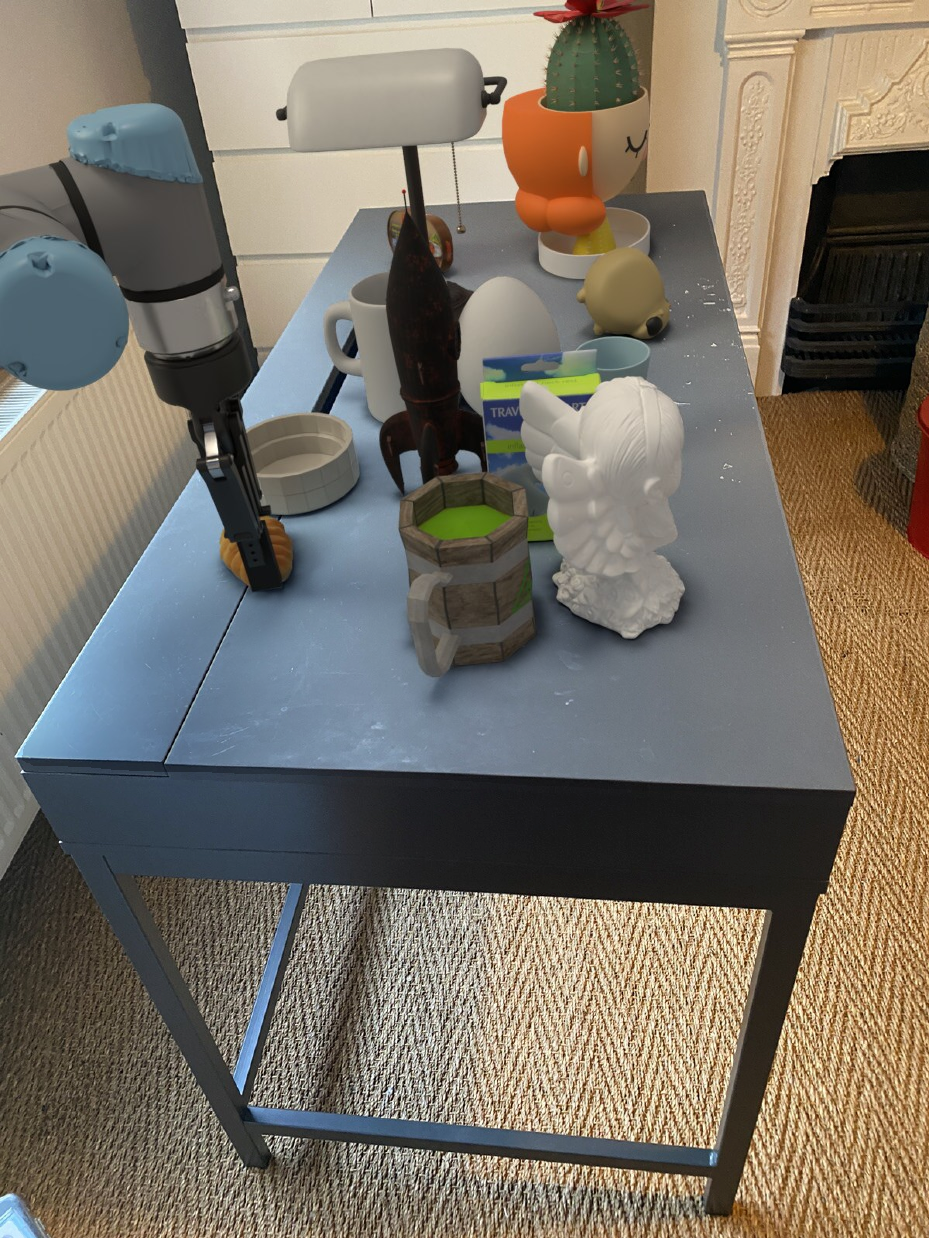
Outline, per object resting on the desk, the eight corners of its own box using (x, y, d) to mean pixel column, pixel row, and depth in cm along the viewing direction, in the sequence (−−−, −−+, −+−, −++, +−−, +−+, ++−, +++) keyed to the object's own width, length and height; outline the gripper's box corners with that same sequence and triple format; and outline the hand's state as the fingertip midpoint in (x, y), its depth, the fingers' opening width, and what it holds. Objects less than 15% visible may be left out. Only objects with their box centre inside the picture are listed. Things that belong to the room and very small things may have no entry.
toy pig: (617, 372, 121) (680, 325, 113) (555, 303, 118) (616, 249, 110) (636, 338, 127) (697, 290, 120) (578, 271, 124) (637, 218, 116)
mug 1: (472, 384, 114) (460, 268, 105) (443, 430, 106) (428, 308, 97) (355, 378, 119) (334, 266, 110) (320, 421, 111) (293, 304, 102)
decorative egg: (570, 382, 112) (567, 257, 103) (551, 433, 103) (545, 302, 94) (473, 379, 115) (461, 257, 106) (446, 428, 107) (430, 301, 97)
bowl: (236, 527, 95) (223, 486, 92) (242, 462, 106) (230, 423, 102) (363, 506, 96) (355, 464, 93) (357, 444, 106) (349, 404, 103)
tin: (389, 260, 151) (381, 206, 145) (405, 254, 152) (397, 200, 147) (443, 282, 141) (436, 225, 136) (459, 276, 142) (454, 219, 137)
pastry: (311, 578, 88) (302, 546, 85) (243, 604, 86) (232, 572, 83) (281, 530, 94) (272, 499, 92) (217, 553, 92) (206, 522, 90)
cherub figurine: (703, 642, 76) (723, 423, 63) (551, 662, 76) (540, 447, 63) (663, 548, 86) (672, 342, 73) (529, 566, 86) (514, 363, 73)
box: (493, 546, 89) (476, 378, 77) (493, 521, 92) (477, 357, 80) (605, 539, 88) (604, 368, 76) (601, 514, 91) (600, 347, 80)
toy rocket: (434, 530, 91) (388, 215, 72) (385, 495, 97) (331, 194, 78) (504, 495, 95) (478, 185, 76) (453, 463, 101) (417, 167, 81)
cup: (592, 468, 97) (591, 375, 90) (564, 435, 103) (562, 346, 96) (659, 451, 98) (663, 358, 92) (628, 419, 104) (629, 330, 98)
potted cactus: (654, 226, 150) (662, -36, 127) (642, 280, 134) (649, -10, 111) (523, 230, 155) (508, -22, 133) (496, 282, 139) (474, 5, 116)
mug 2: (443, 576, 86) (426, 464, 78) (555, 595, 82) (550, 479, 74) (369, 693, 75) (341, 577, 67) (494, 721, 71) (481, 601, 64)
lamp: (312, 369, 122) (247, 78, 100) (356, 295, 140) (310, 35, 118) (511, 364, 118) (489, 57, 96) (531, 289, 136) (516, 16, 114)
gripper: (237, 367, 65) (308, 622, 80) (244, 300, 75) (307, 538, 90) (129, 384, 65) (222, 637, 80) (152, 314, 75) (230, 551, 90)
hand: (267, 584), depth 85 cm, fingers closed
